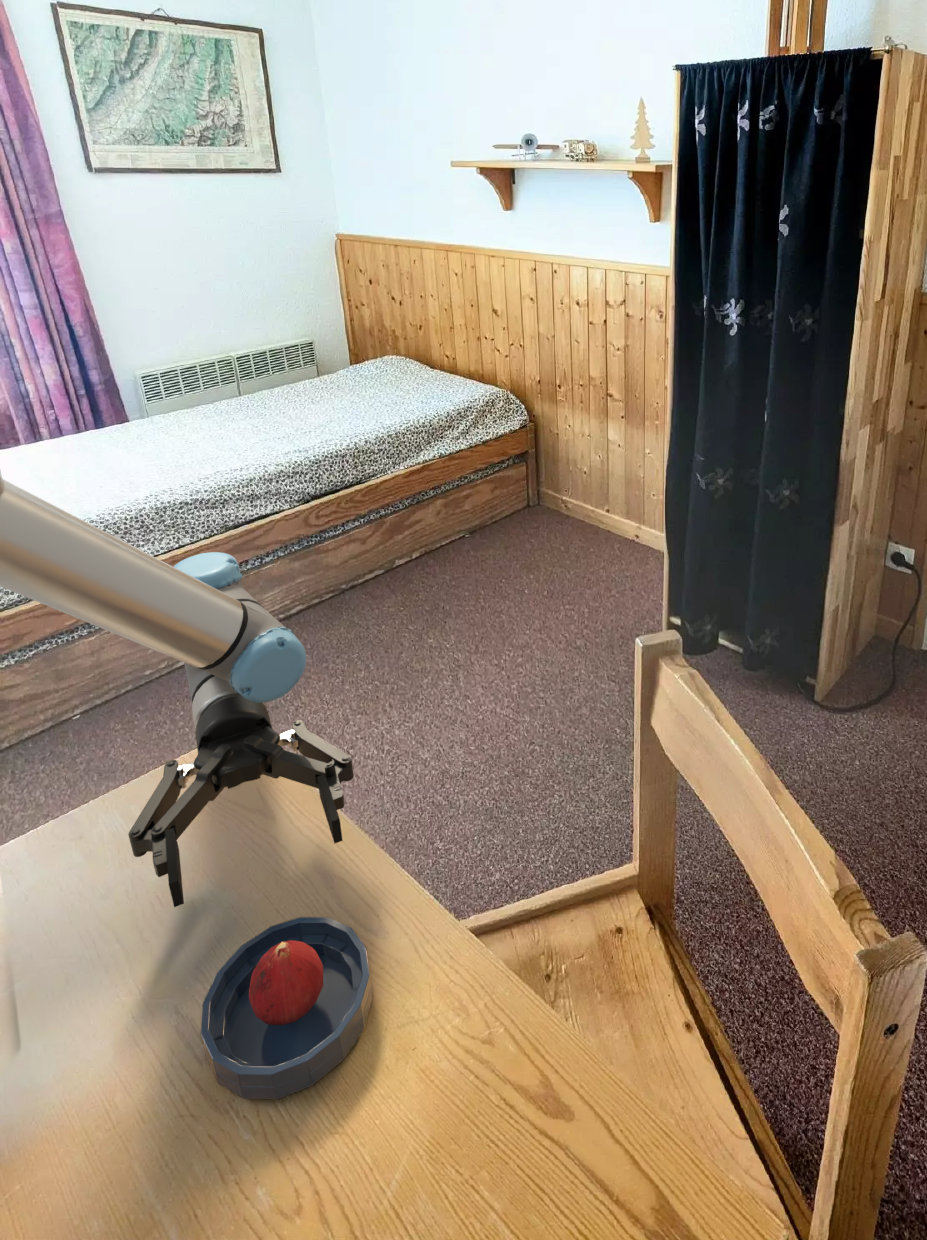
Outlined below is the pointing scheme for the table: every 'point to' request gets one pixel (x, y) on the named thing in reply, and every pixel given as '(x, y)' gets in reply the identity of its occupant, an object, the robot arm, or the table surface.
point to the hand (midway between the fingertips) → (260, 861)
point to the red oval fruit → (286, 983)
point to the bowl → (299, 1050)
